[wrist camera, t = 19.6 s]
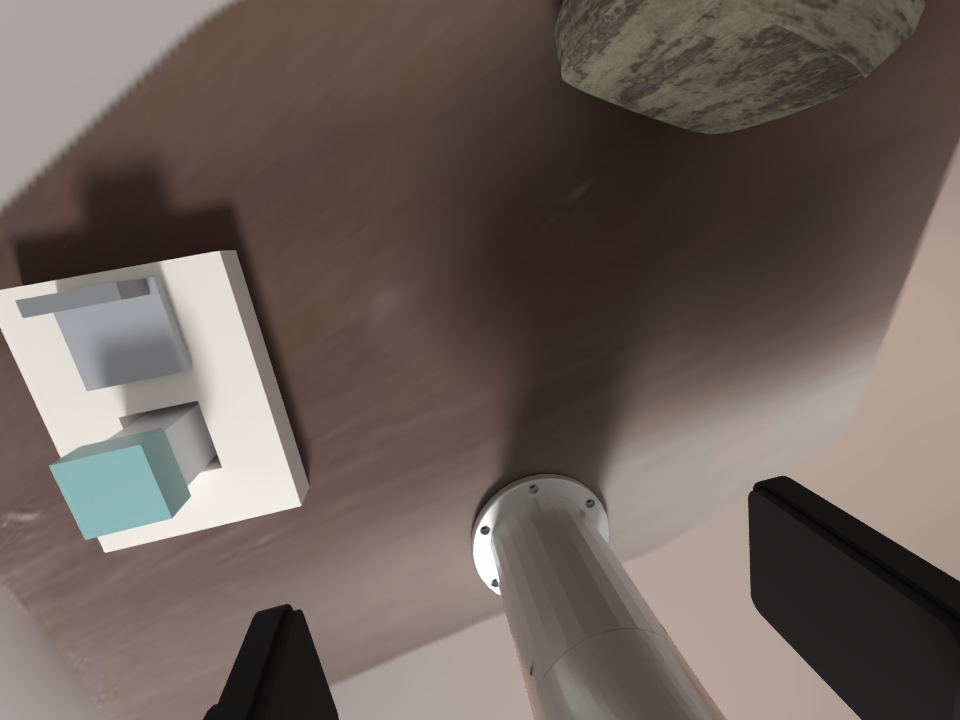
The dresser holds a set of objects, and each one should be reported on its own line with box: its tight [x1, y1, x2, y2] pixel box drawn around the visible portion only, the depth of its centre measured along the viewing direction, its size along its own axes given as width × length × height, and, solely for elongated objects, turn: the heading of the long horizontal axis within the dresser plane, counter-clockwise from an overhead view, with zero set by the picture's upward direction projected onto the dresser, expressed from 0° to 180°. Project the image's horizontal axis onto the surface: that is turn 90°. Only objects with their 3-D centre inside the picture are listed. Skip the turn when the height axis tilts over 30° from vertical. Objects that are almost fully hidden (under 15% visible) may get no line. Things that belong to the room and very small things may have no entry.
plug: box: [49, 401, 217, 540], centre depth 31 cm, size 5×5×10 cm
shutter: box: [15, 276, 192, 391], centre depth 28 cm, size 6×6×4 cm
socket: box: [0, 250, 309, 553], centre depth 33 cm, size 19×14×3 cm
